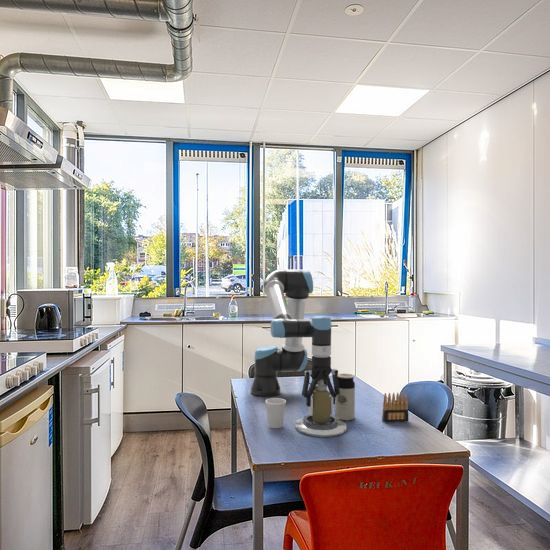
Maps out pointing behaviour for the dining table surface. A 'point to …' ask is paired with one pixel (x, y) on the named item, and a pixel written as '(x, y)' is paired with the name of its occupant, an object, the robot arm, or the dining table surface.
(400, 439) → the dining table surface
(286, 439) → the dining table surface
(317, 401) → the squeeze bottle
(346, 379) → the travel mug
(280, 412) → the dixie cup
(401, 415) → the ammunition clip
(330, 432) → the rosette plate
